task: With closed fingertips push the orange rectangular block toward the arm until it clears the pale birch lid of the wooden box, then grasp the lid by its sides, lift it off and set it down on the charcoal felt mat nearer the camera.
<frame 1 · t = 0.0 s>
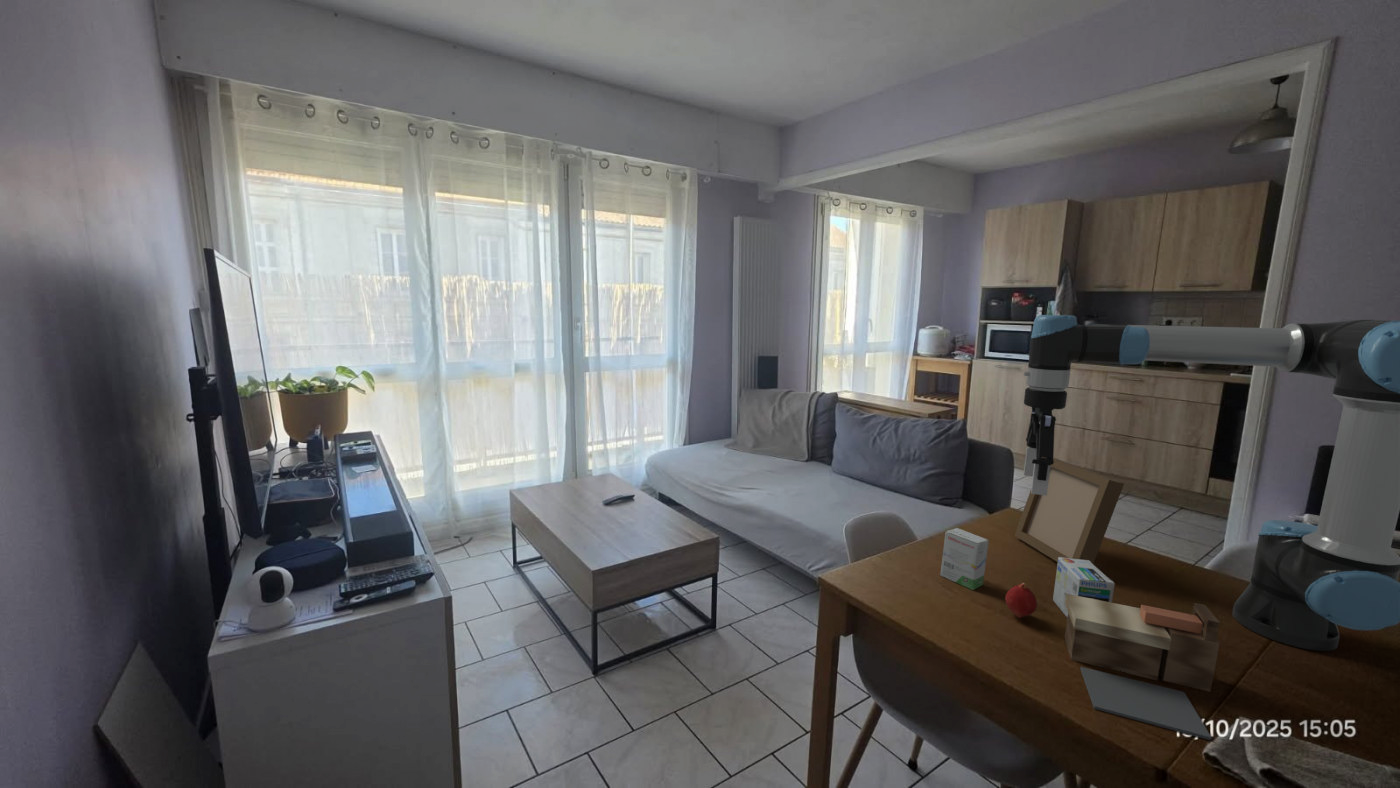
hand: (1034, 484, 117), 28 cm above the table, fingers open, 13 cm apart
onion: (1018, 617, 116), on the table
photo frame: (1066, 555, 145), on the table
light bulb box: (1078, 615, 117), on the table
mat: (1139, 701, 91), on the table
orange rectangular block: (1170, 618, 97), point 11 cm above the table, slide at 0.0 cm
wooden box: (1108, 658, 102), on the table
ink box: (961, 581, 131), on the table
lid: (1113, 625, 101), point 7 cm above the table, touching wooden box
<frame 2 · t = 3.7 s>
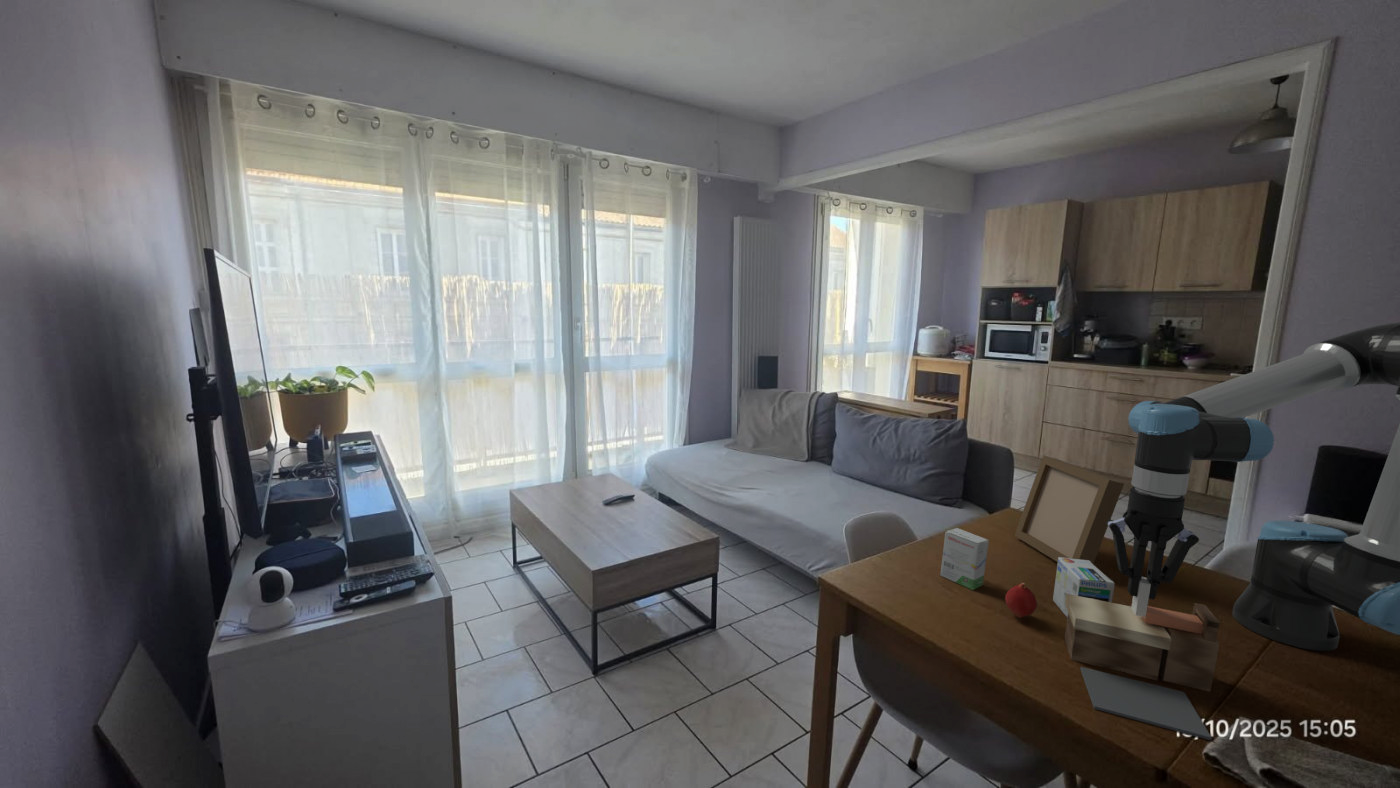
hand: (1138, 612, 99), 11 cm above the table, fingers closed
orange rectangular block: (1170, 619, 97), point 11 cm above the table, slide at 0.1 cm, touching gripper
everything else where it was.
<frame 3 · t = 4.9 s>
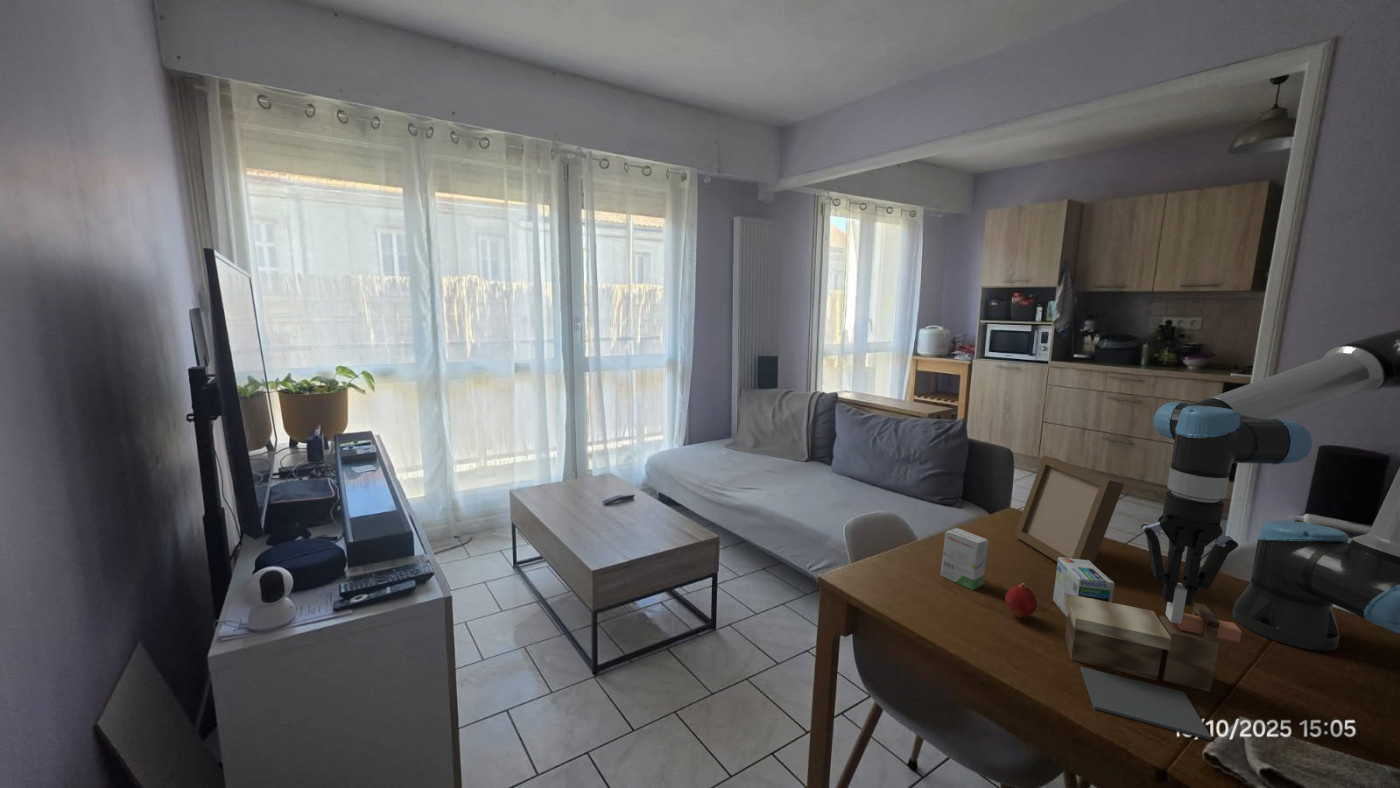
hand: (1173, 618, 97), 11 cm above the table, fingers closed
orange rectangular block: (1207, 626, 95), point 11 cm above the table, slide at 5.2 cm, touching gripper
everything else where it was.
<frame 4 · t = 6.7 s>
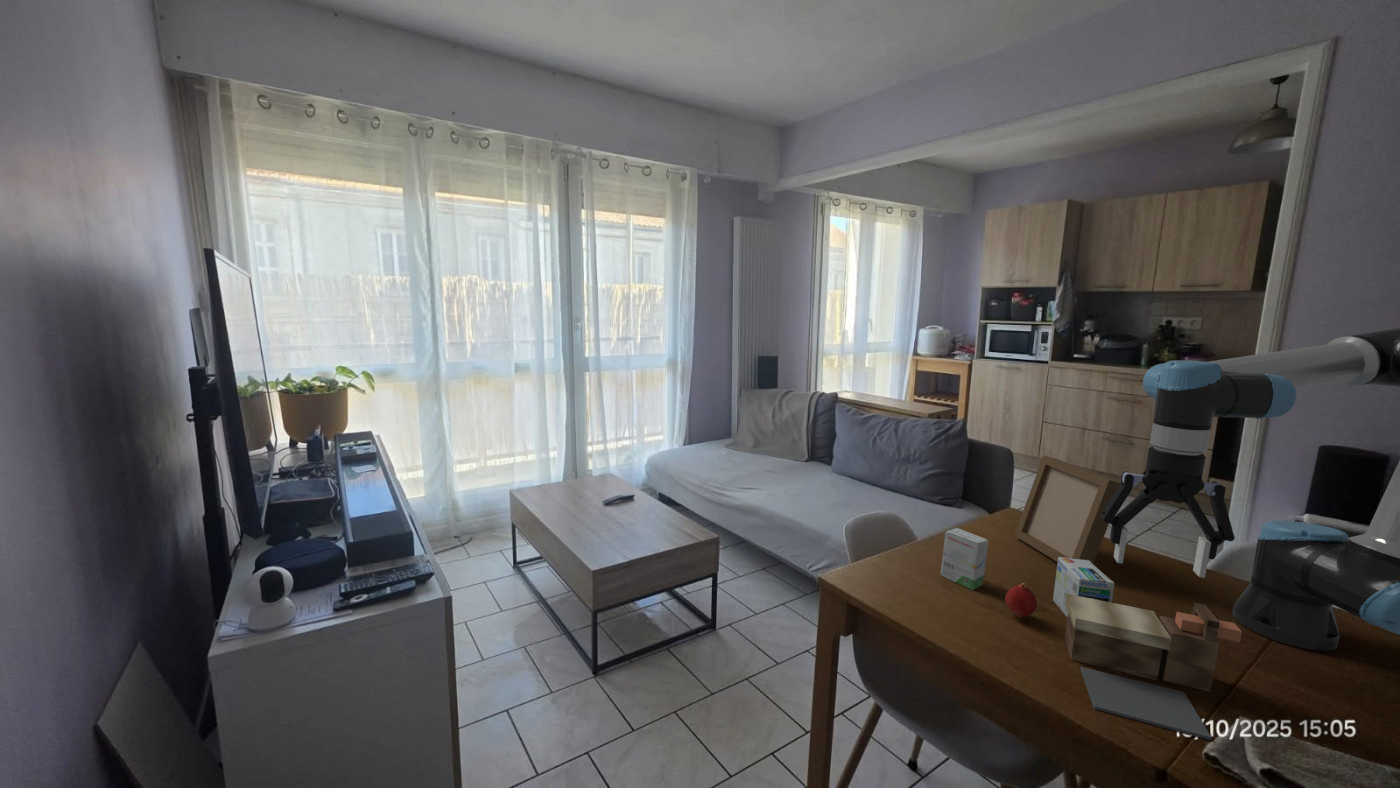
hand: (1157, 567, 97), 20 cm above the table, fingers open, 11 cm apart
orange rectangular block: (1207, 626, 95), point 11 cm above the table, slide at 5.2 cm
everything else where it was.
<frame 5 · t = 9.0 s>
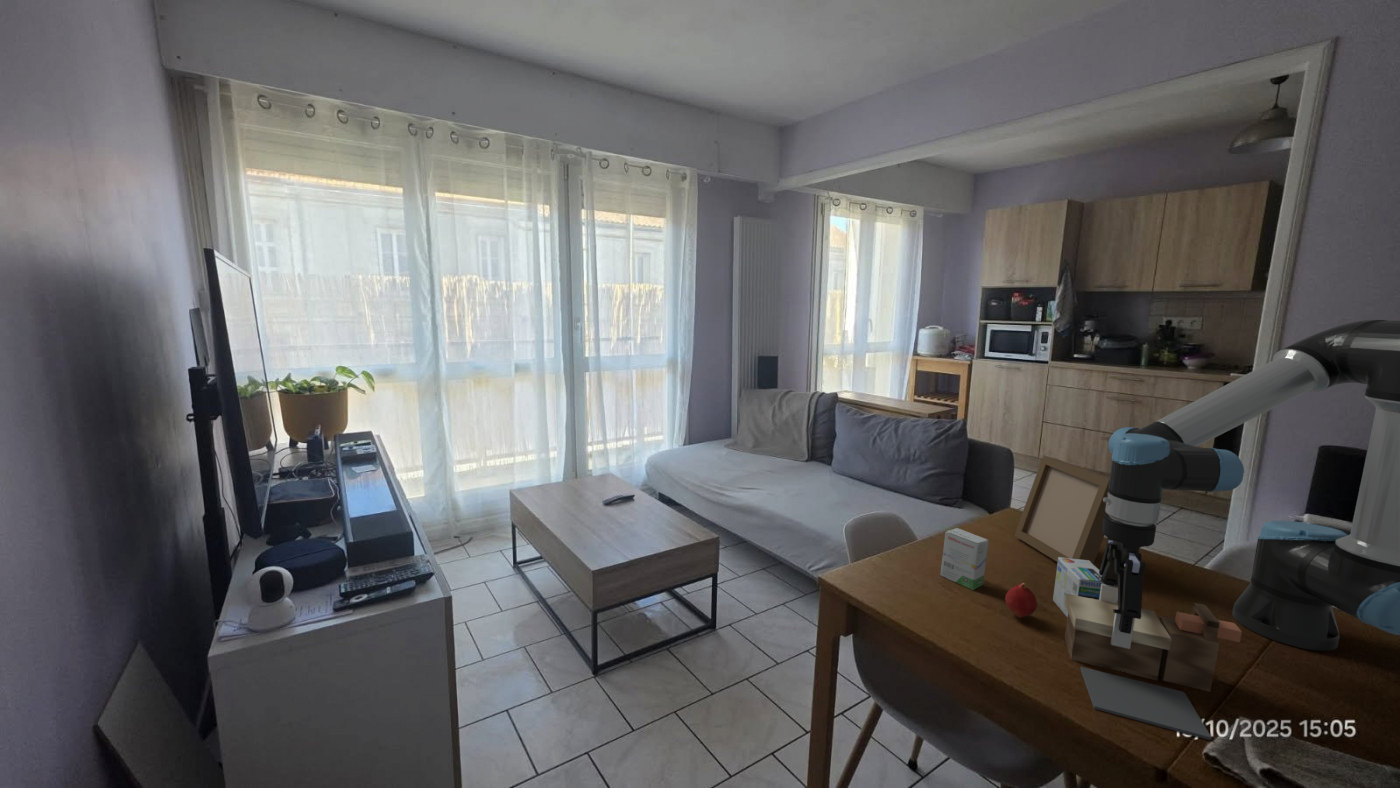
hand: (1112, 630, 101), 6 cm above the table, fingers closed on lid, 10 cm apart
lid: (1113, 625, 101), point 7 cm above the table, touching gripper, wooden box
everything else where it was.
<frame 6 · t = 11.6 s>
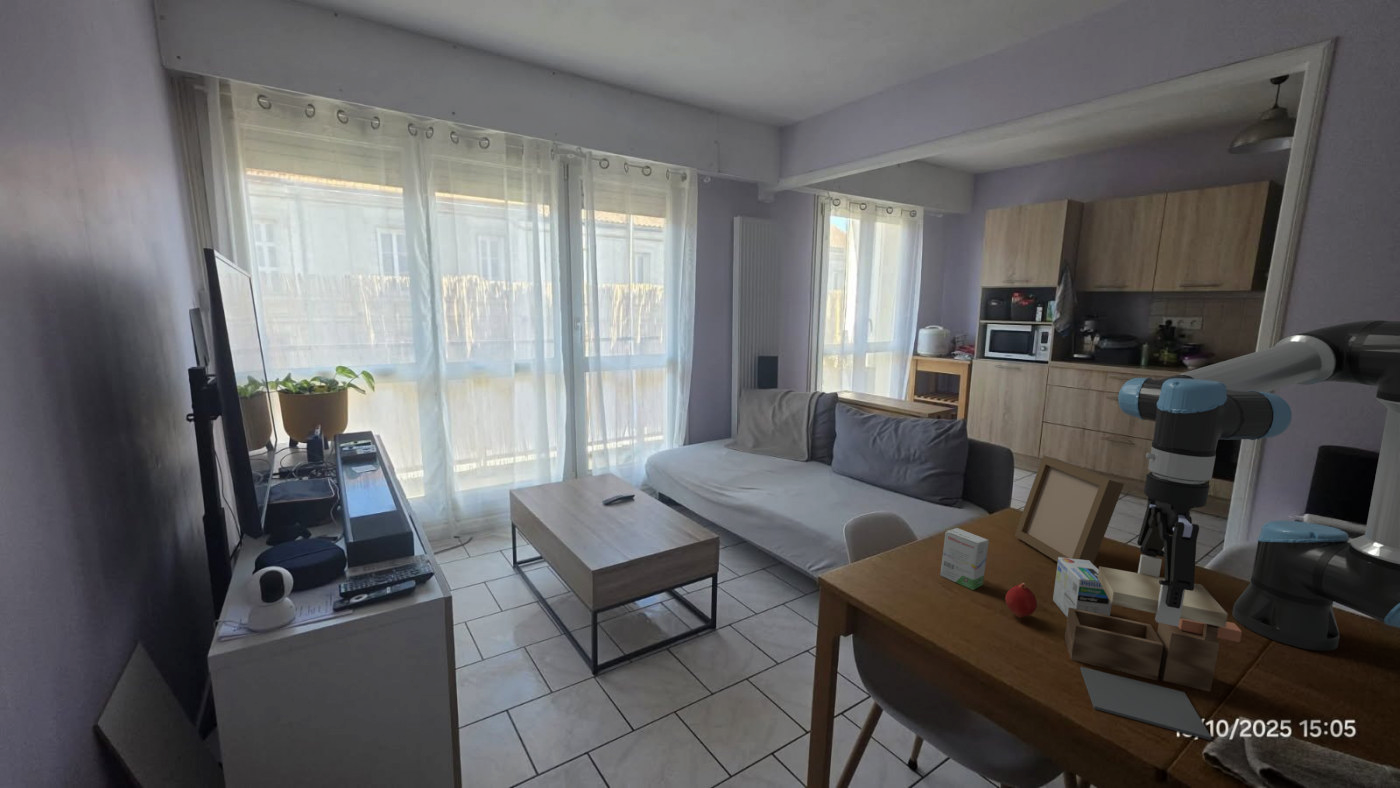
hand: (1155, 606, 88), 18 cm above the table, fingers closed on lid, 10 cm apart
lid: (1156, 600, 88), point 19 cm above the table, touching gripper
everything else where it was.
when the fingers open (1 cm above the table, at t = 14.4 s): lid drops 2 cm, resting on mat.
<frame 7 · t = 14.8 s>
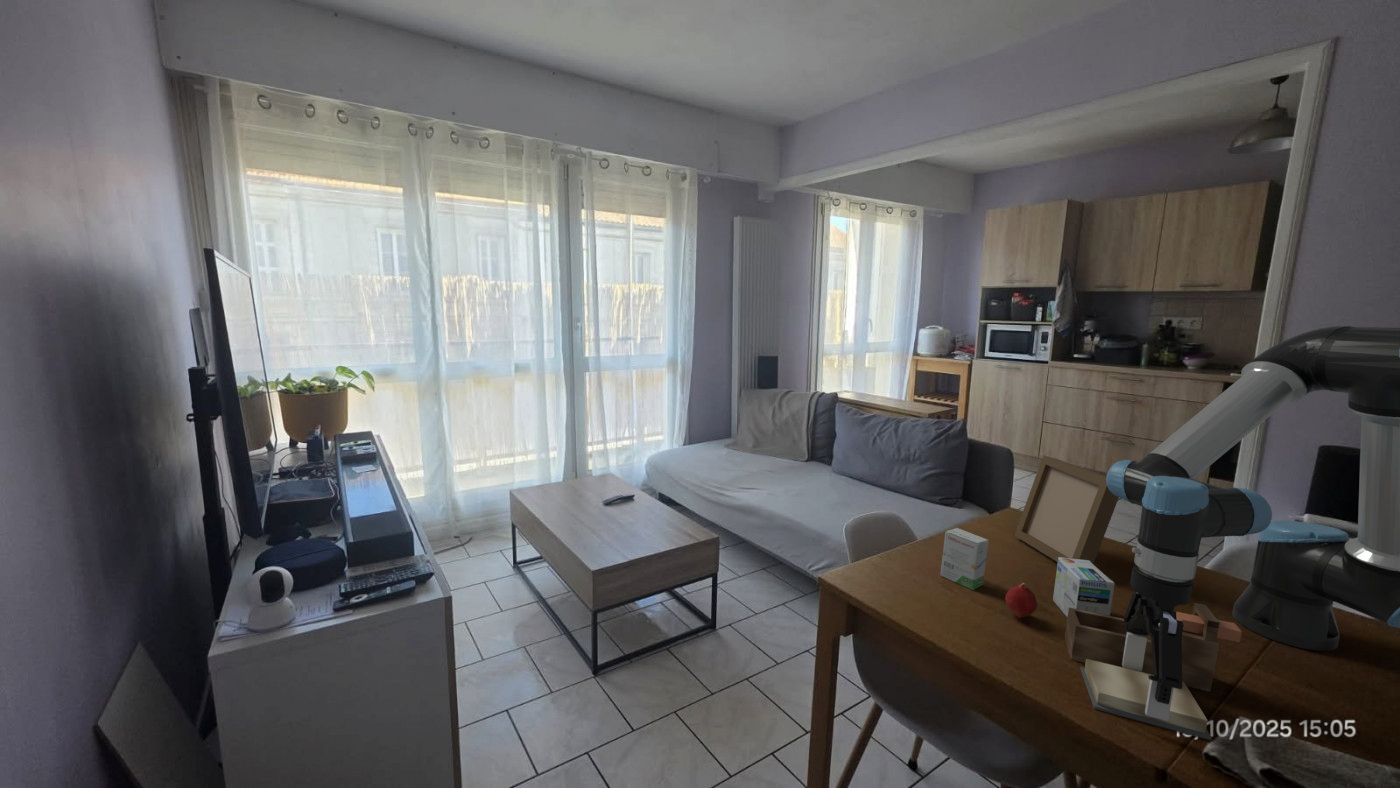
hand: (1143, 691, 90), 2 cm above the table, fingers open, 12 cm apart
lid: (1140, 698, 91), resting on mat
everything else where it was.
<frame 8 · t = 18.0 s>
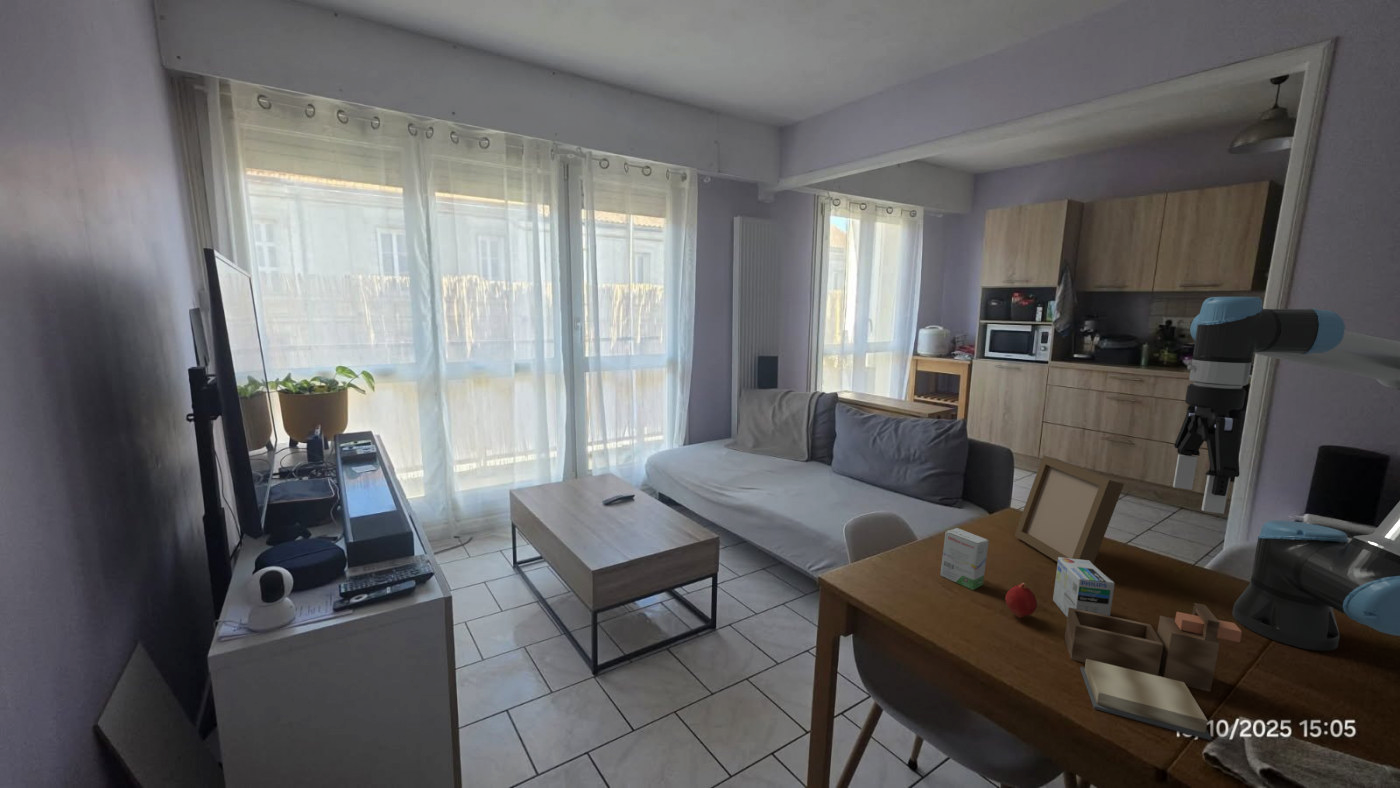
hand: (1196, 499, 98), 32 cm above the table, fingers open, 13 cm apart
nothing on the table moved.
at the end: orange rectangular block slide at 5.2 cm; lid inside the target area on the mat (0.0 cm from its centre), point 0.5 cm above the mat's base; lid tilted 0° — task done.
